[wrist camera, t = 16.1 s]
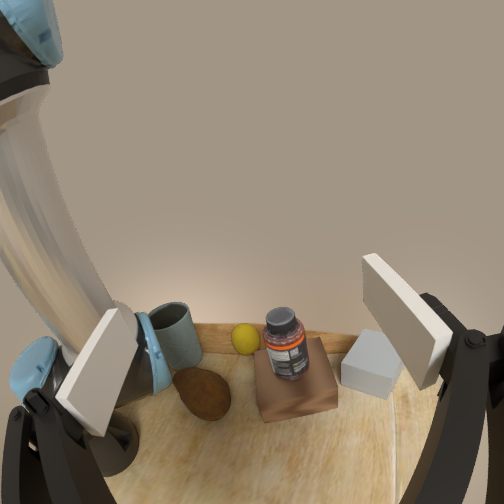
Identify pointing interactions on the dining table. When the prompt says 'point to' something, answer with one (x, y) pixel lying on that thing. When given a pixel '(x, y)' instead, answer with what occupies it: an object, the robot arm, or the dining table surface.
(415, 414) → the dining table surface
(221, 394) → the potato
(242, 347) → the lemon
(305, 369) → the supplement bottle
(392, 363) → the grey block
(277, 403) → the walnut block
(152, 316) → the grey green planter pot
